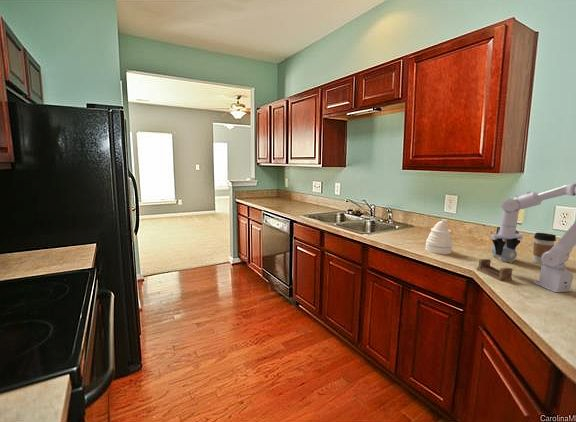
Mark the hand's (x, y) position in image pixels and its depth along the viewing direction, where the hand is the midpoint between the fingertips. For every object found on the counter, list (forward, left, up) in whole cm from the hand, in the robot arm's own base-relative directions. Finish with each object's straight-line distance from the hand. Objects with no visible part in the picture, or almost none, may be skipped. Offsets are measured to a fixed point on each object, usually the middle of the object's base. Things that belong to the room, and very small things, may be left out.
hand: (503, 254), depth 136 cm
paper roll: (0, 0, -1) cm, 1 cm away
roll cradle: (-2, +6, -8) cm, 10 cm away
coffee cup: (+9, -32, -9) cm, 34 cm away
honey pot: (+33, +8, -9) cm, 35 cm away
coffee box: (+16, -17, -9) cm, 25 cm away
